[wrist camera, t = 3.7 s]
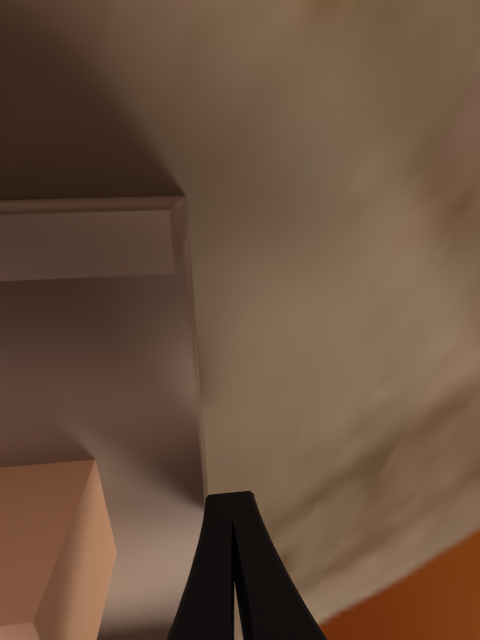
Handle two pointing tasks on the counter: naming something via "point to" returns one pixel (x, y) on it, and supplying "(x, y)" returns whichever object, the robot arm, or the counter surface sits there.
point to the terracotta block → (53, 551)
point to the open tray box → (109, 380)
